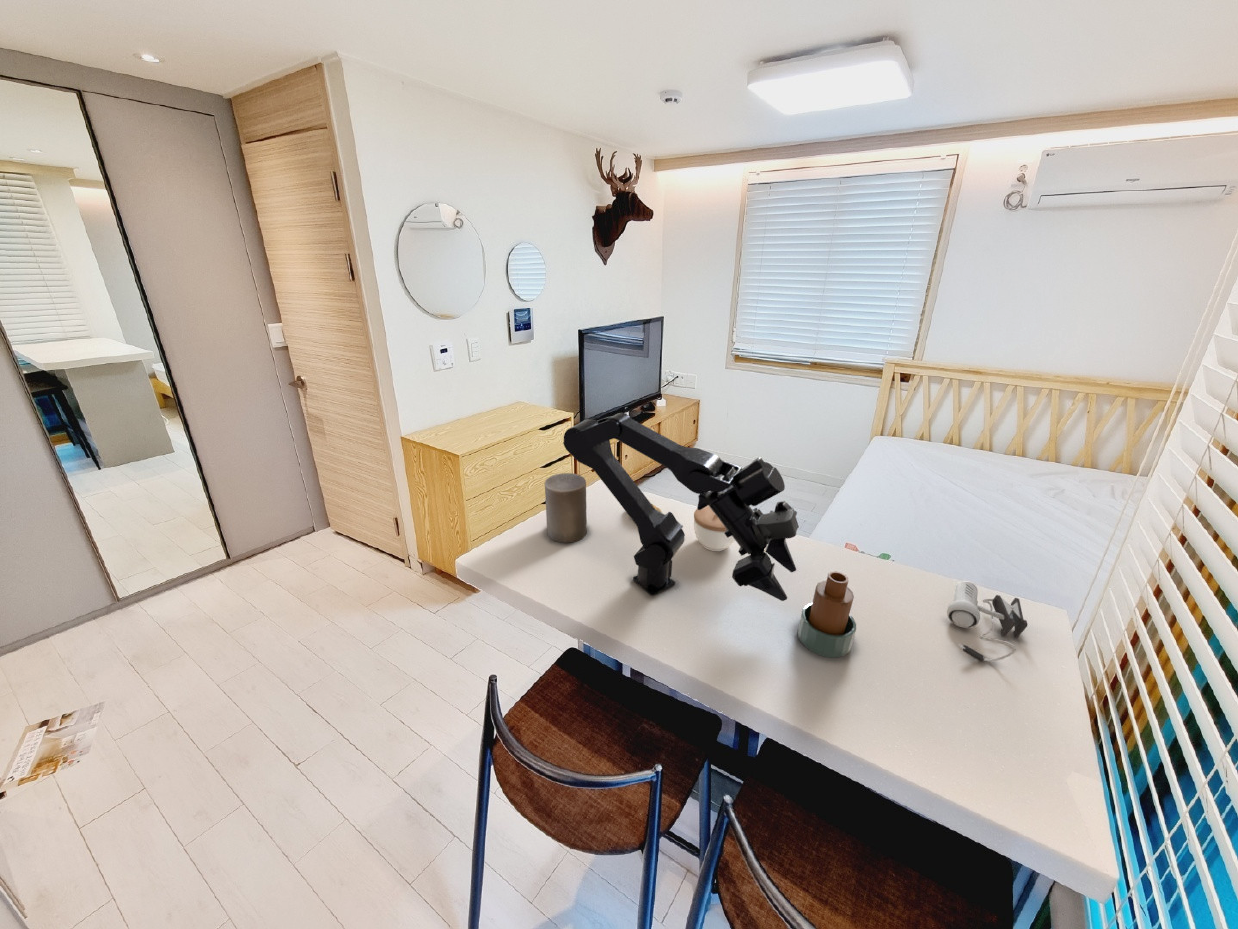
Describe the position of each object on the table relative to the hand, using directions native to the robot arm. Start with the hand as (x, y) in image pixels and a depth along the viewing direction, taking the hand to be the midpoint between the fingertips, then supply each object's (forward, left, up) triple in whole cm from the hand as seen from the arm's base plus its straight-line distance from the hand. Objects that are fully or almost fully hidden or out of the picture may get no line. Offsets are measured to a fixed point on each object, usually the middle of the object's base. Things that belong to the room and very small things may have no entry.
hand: (789, 584), depth 90 cm
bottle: (+3, -7, -9) cm, 11 cm away
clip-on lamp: (+28, -23, -9) cm, 37 cm away
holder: (+3, -7, -9) cm, 12 cm away
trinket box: (+9, +26, -9) cm, 30 cm away
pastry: (+3, +45, -9) cm, 46 cm away
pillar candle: (-17, +50, -9) cm, 54 cm away
